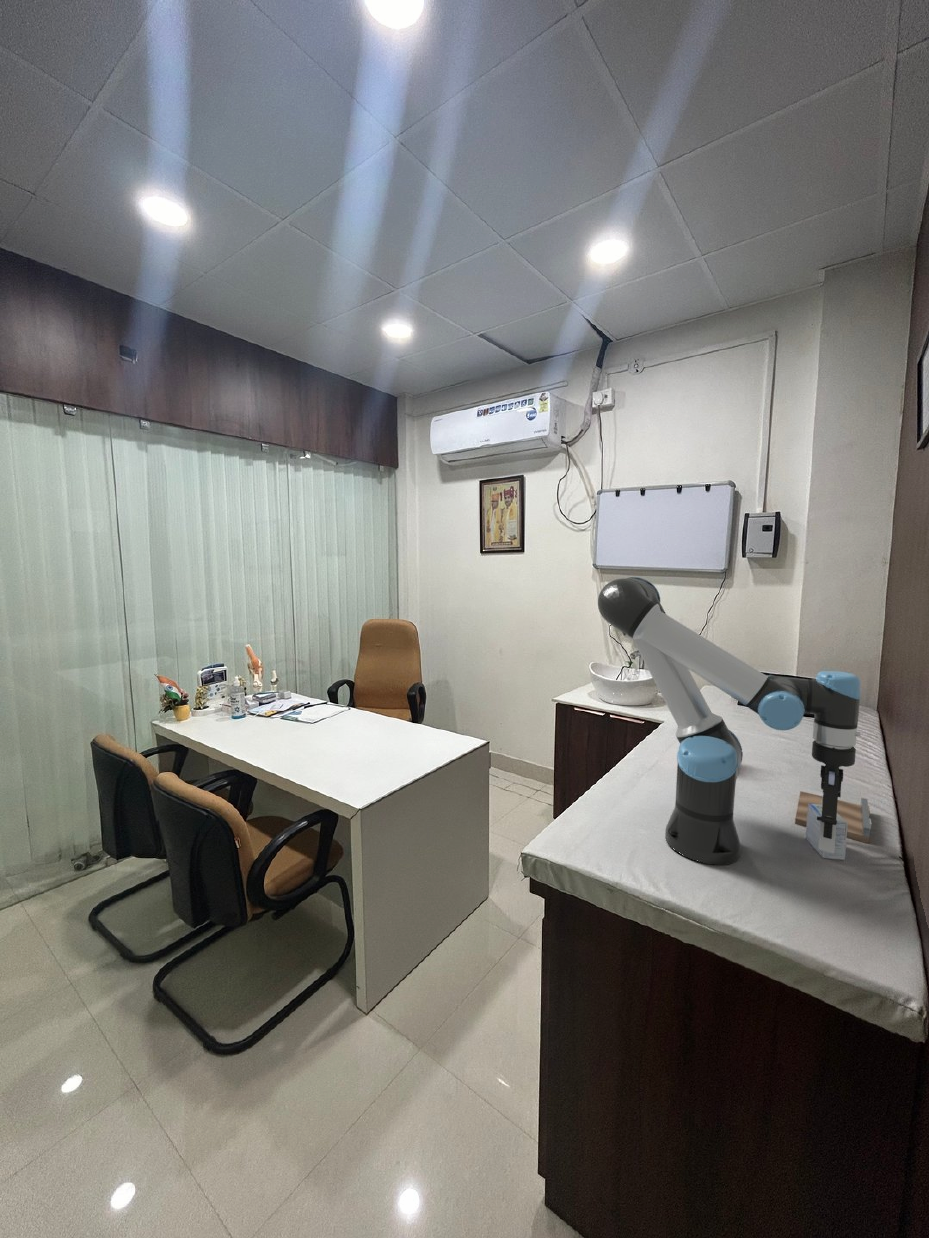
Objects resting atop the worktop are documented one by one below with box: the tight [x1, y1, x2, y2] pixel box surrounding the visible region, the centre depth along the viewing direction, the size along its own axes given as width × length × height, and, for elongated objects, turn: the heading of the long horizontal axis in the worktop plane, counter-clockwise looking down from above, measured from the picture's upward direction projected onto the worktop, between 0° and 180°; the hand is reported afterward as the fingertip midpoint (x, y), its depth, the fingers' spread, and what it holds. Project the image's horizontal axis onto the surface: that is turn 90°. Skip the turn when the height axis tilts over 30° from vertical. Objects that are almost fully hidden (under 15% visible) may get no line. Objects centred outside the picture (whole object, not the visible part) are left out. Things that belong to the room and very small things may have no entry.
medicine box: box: [805, 804, 848, 861], centre depth 109 cm, size 8×4×9 cm, turn 168°
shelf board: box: [794, 791, 872, 844], centre depth 123 cm, size 18×14×4 cm
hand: (827, 836), depth 109 cm, fingers open, 13 cm apart
